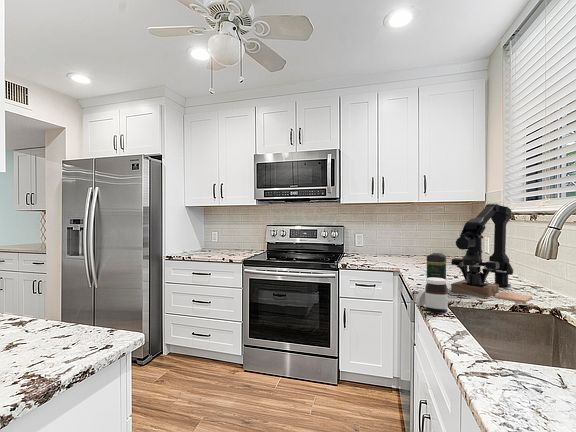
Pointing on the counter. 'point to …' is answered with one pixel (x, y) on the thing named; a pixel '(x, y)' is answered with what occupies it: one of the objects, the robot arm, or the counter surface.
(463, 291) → the walnut caddy
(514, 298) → the terracotta coaster
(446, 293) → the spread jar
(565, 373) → the counter surface
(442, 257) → the coffee jar
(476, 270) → the supplement bottle
